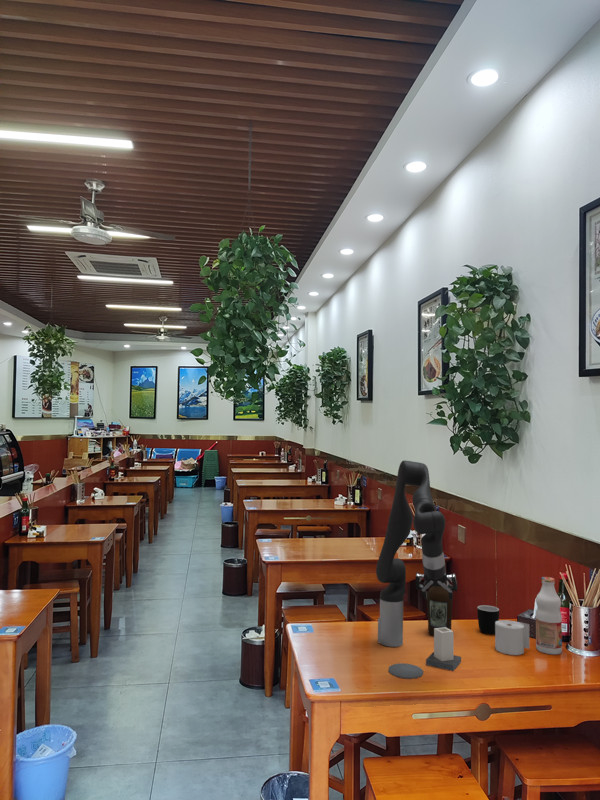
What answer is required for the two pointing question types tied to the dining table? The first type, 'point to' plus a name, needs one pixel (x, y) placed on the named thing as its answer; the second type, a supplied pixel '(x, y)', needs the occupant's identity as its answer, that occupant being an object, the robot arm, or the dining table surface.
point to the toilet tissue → (511, 637)
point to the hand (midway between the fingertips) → (437, 598)
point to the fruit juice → (548, 619)
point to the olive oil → (438, 609)
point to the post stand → (443, 662)
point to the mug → (487, 618)
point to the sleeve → (443, 644)
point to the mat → (405, 671)
